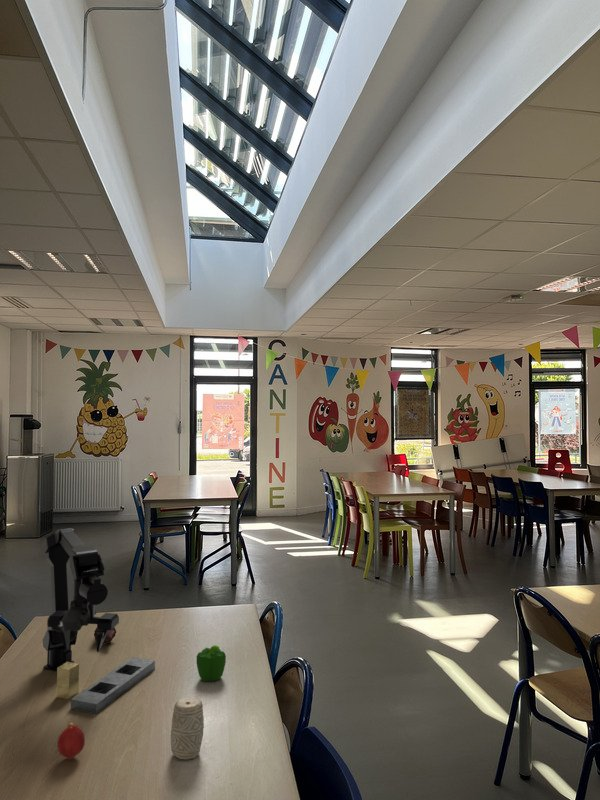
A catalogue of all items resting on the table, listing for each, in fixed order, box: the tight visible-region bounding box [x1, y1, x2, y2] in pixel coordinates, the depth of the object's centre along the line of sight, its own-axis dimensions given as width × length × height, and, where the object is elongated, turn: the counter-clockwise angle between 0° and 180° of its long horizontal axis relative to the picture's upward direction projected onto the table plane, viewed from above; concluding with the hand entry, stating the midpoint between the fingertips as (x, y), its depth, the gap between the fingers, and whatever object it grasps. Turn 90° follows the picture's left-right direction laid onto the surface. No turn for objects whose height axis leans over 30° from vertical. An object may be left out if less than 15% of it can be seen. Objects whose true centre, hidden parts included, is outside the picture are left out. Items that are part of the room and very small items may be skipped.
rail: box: [70, 656, 156, 715], centre depth 163 cm, size 8×28×2 cm, turn 162°
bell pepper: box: [196, 645, 227, 682], centre depth 169 cm, size 8×8×10 cm
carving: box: [170, 696, 205, 761], centre depth 131 cm, size 6×8×12 cm
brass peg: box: [56, 662, 80, 700], centre depth 158 cm, size 4×4×8 cm
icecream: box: [93, 626, 117, 645], centre depth 195 cm, size 7×7×15 cm
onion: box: [56, 722, 86, 760], centre depth 129 cm, size 6×6×8 cm
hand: (82, 650), depth 160 cm, fingers open, 9 cm apart
